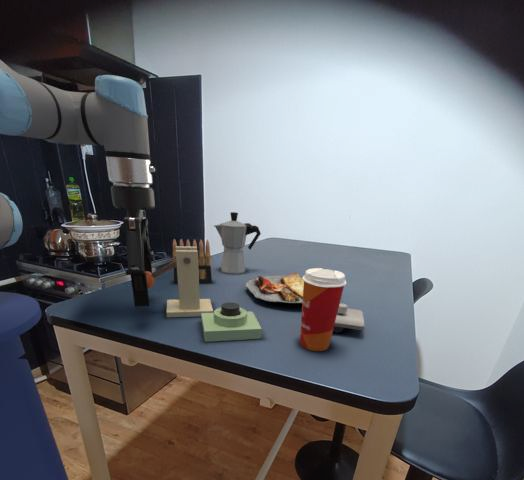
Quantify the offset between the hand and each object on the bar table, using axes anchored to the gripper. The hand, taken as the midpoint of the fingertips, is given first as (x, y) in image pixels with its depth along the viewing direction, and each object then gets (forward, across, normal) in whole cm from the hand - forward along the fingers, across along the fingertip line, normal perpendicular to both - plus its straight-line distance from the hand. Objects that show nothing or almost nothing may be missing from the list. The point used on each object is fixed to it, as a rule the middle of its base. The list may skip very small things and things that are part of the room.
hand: (145, 294), depth 69 cm
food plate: (+4, +9, -36) cm, 38 cm away
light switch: (+4, -12, -41) cm, 43 cm away
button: (0, -12, -17) cm, 21 cm away
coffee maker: (+4, +34, -26) cm, 43 cm away
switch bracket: (+4, 0, -9) cm, 10 cm away
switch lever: (-4, 0, -6) cm, 7 cm away
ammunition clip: (+4, +22, -11) cm, 25 cm away
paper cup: (+4, -20, -32) cm, 38 cm away
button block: (+4, -12, -17) cm, 21 cm away
